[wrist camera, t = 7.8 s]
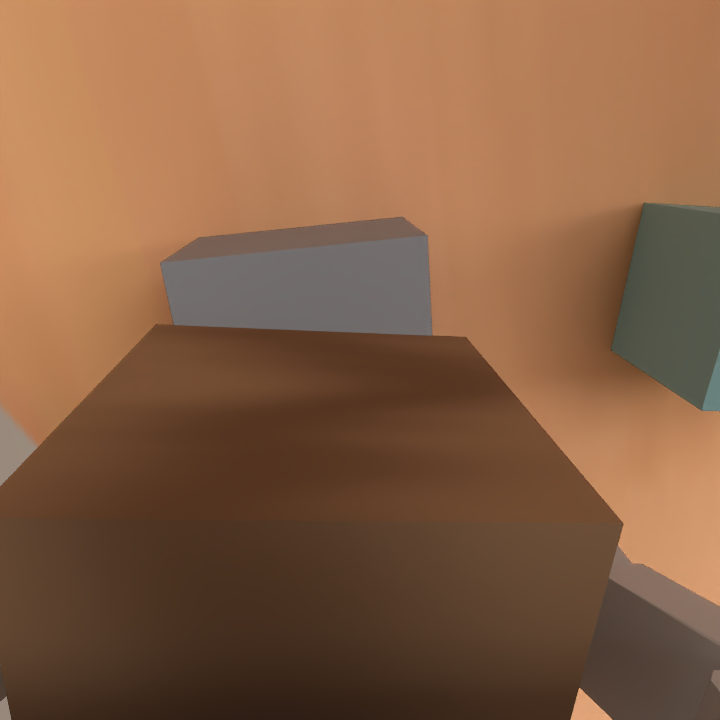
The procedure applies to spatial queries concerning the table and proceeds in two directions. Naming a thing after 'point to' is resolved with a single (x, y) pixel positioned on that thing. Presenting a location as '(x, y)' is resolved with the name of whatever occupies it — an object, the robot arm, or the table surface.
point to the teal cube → (675, 302)
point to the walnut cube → (299, 539)
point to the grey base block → (306, 279)
